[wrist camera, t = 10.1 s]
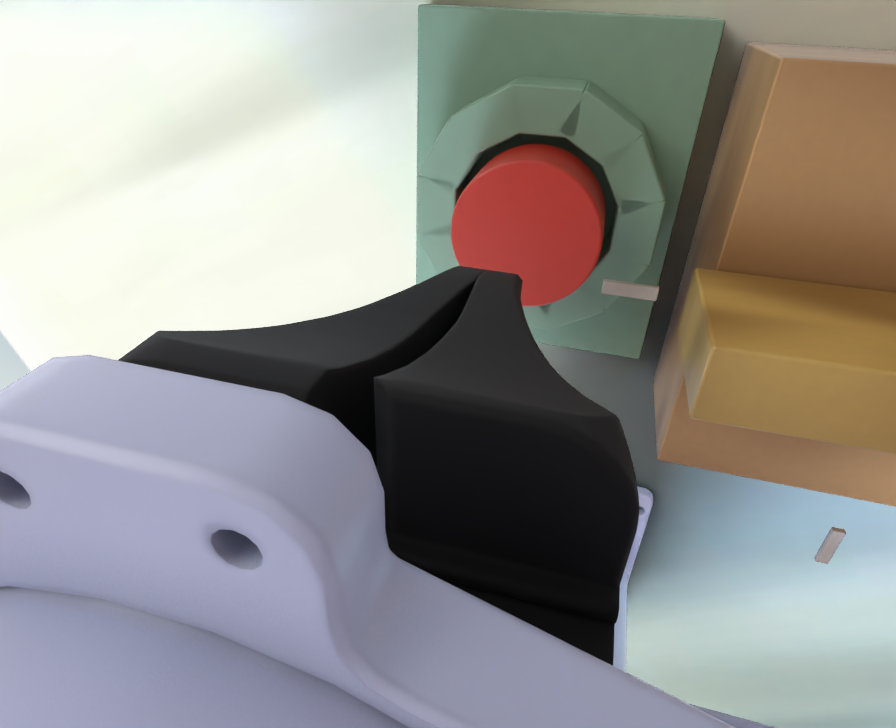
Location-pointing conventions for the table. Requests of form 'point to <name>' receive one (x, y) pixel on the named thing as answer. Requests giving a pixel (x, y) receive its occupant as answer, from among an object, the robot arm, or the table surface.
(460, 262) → the tap button
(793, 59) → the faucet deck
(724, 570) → the table surface
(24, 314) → the table surface
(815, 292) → the golden tan long bar
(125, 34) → the table surface
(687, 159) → the tap control
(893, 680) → the table surface
